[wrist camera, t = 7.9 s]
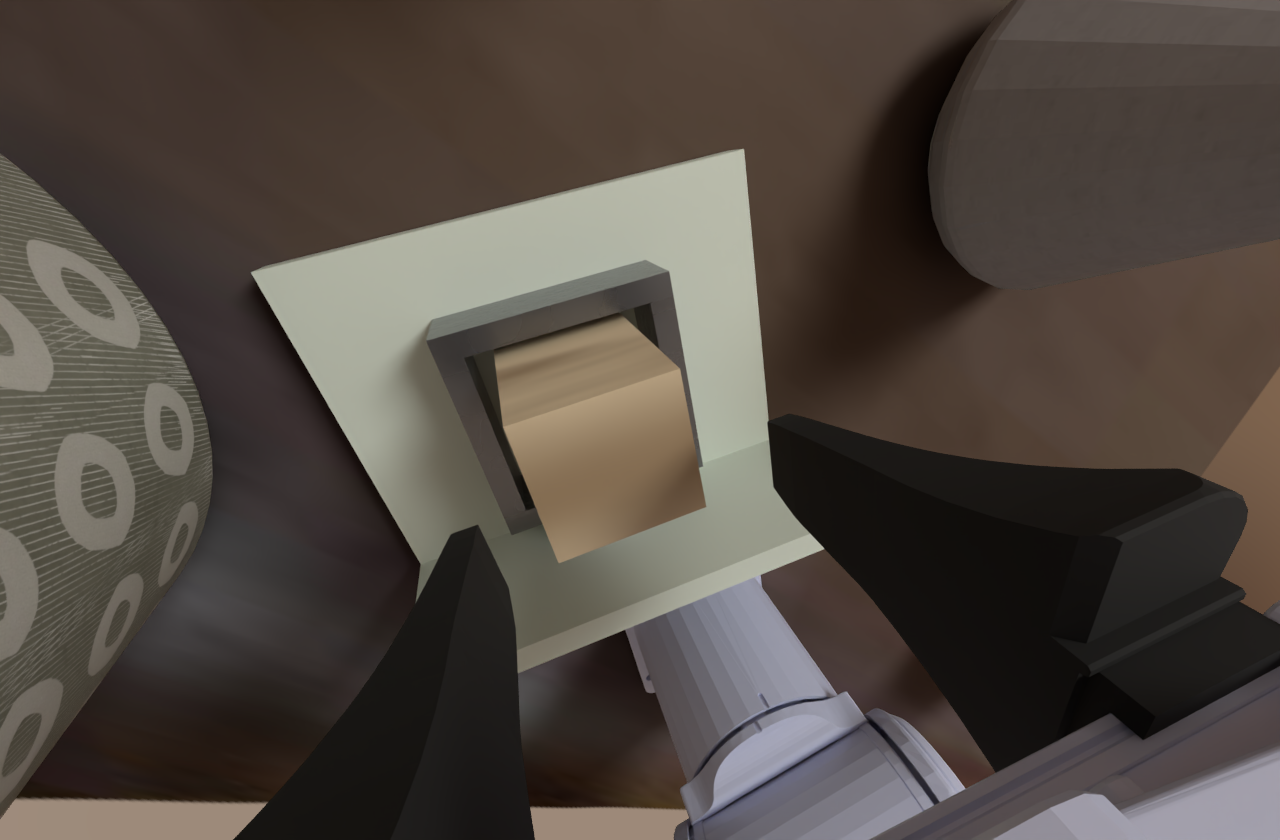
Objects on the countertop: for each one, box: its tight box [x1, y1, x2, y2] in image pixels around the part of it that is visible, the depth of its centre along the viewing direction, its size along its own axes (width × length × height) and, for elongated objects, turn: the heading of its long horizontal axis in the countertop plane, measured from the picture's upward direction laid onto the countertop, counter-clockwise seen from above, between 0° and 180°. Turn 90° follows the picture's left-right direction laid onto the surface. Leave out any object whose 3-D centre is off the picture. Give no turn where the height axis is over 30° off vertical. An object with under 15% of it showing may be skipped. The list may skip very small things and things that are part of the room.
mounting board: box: [251, 149, 824, 673], centre depth 17 cm, size 13×16×7 cm
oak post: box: [494, 312, 706, 563], centre depth 16 cm, size 4×4×7 cm
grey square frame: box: [426, 260, 703, 535], centre depth 18 cm, size 9×8×2 cm
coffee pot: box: [928, 0, 1280, 290], centre depth 17 cm, size 21×12×15 cm, turn 47°
